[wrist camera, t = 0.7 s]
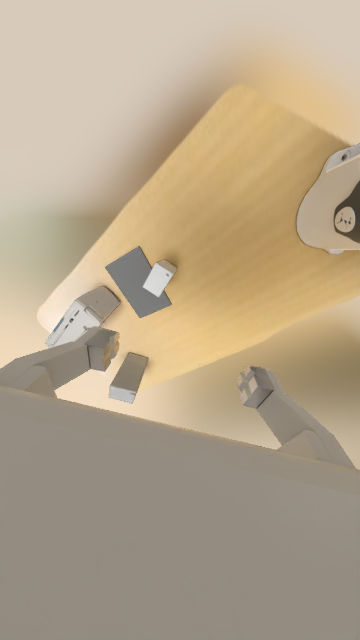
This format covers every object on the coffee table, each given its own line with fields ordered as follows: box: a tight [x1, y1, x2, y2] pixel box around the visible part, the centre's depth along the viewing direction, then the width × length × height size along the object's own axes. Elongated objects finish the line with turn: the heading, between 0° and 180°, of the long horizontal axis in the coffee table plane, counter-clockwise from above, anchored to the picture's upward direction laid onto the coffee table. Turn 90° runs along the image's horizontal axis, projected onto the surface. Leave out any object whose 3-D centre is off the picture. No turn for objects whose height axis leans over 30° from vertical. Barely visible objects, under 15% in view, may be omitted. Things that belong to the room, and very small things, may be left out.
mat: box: [105, 246, 172, 318], centre depth 44 cm, size 12×18×1 cm, turn 26°
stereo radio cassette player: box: [45, 286, 120, 348], centre depth 42 cm, size 21×8×20 cm, turn 133°
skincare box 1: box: [109, 353, 148, 403], centre depth 53 cm, size 8×7×16 cm
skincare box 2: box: [143, 260, 177, 297], centre depth 36 cm, size 6×4×12 cm
